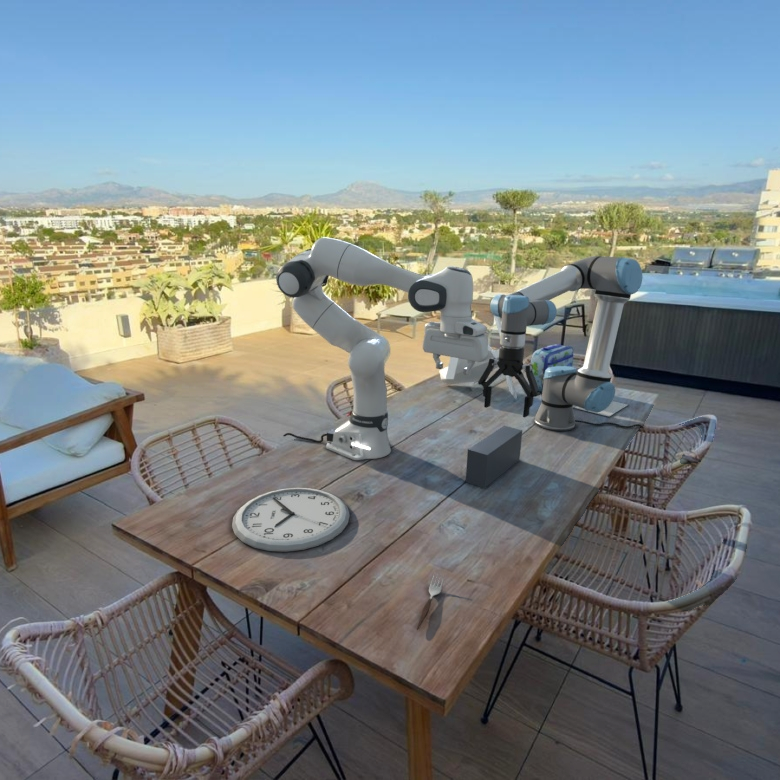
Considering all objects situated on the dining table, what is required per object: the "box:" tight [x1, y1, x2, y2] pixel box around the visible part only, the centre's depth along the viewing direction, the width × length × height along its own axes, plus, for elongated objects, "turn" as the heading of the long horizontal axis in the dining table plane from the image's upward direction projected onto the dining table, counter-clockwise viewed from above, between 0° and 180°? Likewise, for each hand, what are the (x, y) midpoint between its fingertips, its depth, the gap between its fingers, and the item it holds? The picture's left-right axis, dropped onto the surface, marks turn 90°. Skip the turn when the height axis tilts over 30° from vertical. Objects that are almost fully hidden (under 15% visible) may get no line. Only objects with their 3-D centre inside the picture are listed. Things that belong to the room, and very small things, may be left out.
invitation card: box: [573, 400, 629, 418], centre depth 226 cm, size 21×1×15 cm
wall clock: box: [231, 487, 351, 553], centre depth 136 cm, size 30×2×30 cm
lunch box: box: [528, 344, 574, 393], centre depth 247 cm, size 26×11×21 cm, turn 134°
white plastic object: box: [438, 315, 527, 400], centre depth 245 cm, size 37×45×31 cm
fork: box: [416, 572, 445, 631], centre depth 105 cm, size 3×16×2 cm, turn 160°
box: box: [465, 425, 523, 489], centre depth 164 cm, size 25×6×11 cm, turn 143°
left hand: (452, 371), depth 154 cm, fingers open, 8 cm apart
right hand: (506, 411), depth 167 cm, fingers open, 13 cm apart
